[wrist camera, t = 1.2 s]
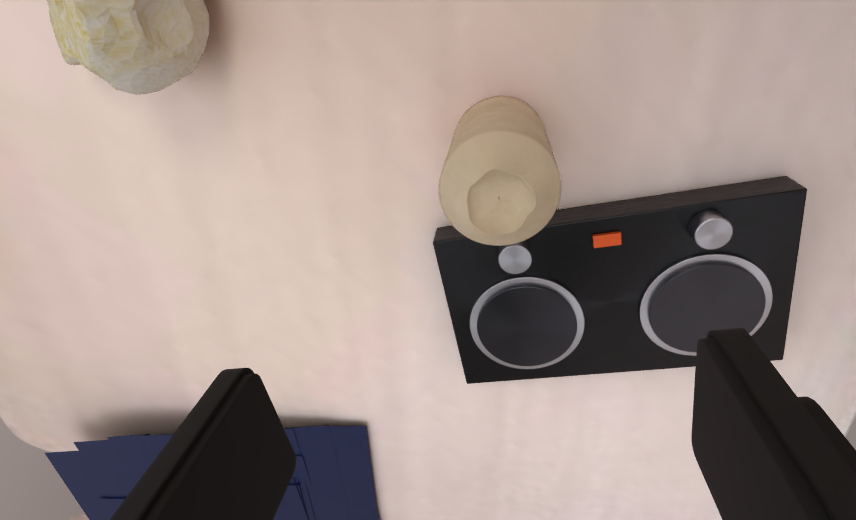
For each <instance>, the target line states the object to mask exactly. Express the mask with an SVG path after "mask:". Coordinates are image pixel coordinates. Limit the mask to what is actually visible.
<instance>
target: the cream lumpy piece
mask: <svg viewBox="0 0 856 520" xmlns="http://www.w3.org/2000/svg"><path fill="white" fill-rule="evenodd" d="M47 2H48V6H49V14H50V21H51V24H52V27H53V30H54V34H55V37H56V40H57V42H58V45H59V48H60V50H61V53H62V56H63V58H64V60H65V62H66V63H67V64H70V65H83V66H84V67H85V68H87V69H88V70H90V71H91V72H93V73H94V74H96V75H97V76H99V77H101V78H102V79H104V80H105V81H107V82H108V83H109V84H110V85H111V86H112V87H114V88H115V89H117V90H121V91H124V92H128V93H132V94H136V95H137V94H147V93H152V92H156V91H160V90H162V89H164V88H166V87H167V86H169V85H171V84H172V83H174V82H176V81H178V80H180V78H182V77H184V76H186V75H188V74H190V73H192V71H193V70H194V69H195V68H196V66H197V64H198V61H199V59H200V58H201V56H202V54H203V53H204V51H205V47H206V43H207V38H208V36H209V31H210V30H209V13H208V10H207V7H206V5H205V3H204V0H47Z"/></svg>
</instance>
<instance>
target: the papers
mask: <svg viewBox="0 0 856 520" xmlns="http://www.w3.org/2000/svg"><path fill="white" fill-rule="evenodd" d="M284 430H285V433H286V435H287V437H288V439H289V441H290V444H291V446H292V448H293V450H294V452H295V455H296V467H295V470H294V473H293V475H292V478H291V480H290V482H289V485H288V487H287V489H286V491H285V494H284V496H283V498H282V501H281V503H280V505H279V508H278V510H277V512H276V514H275V517H274V519H273V520H379V517H378V513H377V506H376V499H375V491H374V483H373V475H372V468H371V460H370V452H369V445H368V437H367V429H366V426H312V427H295V428H287V429H284ZM173 435H174V434H166V435H149V434H144V435H130V436H115V437H108V439H109V440H102V441H86V442H74V444H75V445H76V447H77V448H78V450H79V451H68V452H51V453H45V454H46V456H47V457H48V459H49V460H50V461H51V463H52V465H53V466H54V468H55V469H56V471H57V472H58V473H59V475H60V476H61V478H62V479H63V481H64V482H65V484H66V485H67V487H68V488H69V490H70V491H71V493H72V494H73V496H74V497H75V499H76V500H77V502H78V503H79V505H80V506H81V508H82V509H83V511H84V512H85V514H86V515H87V517H88V518H89V520H110V519H111V517H112V516H113V515H114V513H115V512H116V511H117V509H118V508H119V507H120V505H121V504H122V503H123V501H124V500H125V499H126V497H127V496H128V495H129V493H130V492H131V491H132V489H133V488H134V487H135V485H136V484H137V483H138V481H139V480H140V479H141V477H142V476H143V475H144V473H145V472H146V471H147V469H148V468H149V467H150V465H151V464H152V463H153V461H154V460H155V459H156V457H157V456H158V455H159V453H160V452H161V451H162V449H163V448H164V447H165V445H166V444H167V443H168V441H169V440H170V439H171V437H172V436H173Z"/></svg>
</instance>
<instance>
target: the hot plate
mask: <svg viewBox="0 0 856 520" xmlns="http://www.w3.org/2000/svg"><path fill="white" fill-rule="evenodd" d="M806 193H807V189H806V188H805V187H803V186H802V185H800V184H798V183H797V182H795V181H794V180H792V179H791V178H789V177H787V176H783V177H777V178H770V179H763V180H756V181H750V182H743V183H736V184H730V185H723V186H716V187H710V188H703V189H696V190H689V191H683V192H676V193H669V194H663V195H656V196H649V197H643V198H636V199H629V200H622V201H616V202H609V203H602V204H596V205H589V206H582V207H576V208H569V209H562V210H556V211H555V213H554V215H553V216H552V218H551V219H550V221H549V222H548V223H547V225H546V226H545V227H544V228H543V229H542V230H540V231H539V232H538V233H537V234H535V235H533V236H532V237H530V238H528V239H526V240H524V241H522V242H518V243H515V244H510V245H502V246H495V245H487V244H482V243H479V242H476V241H473V240H471V239H469V238H467V237H466V236H464V235H463V234H461V233H460V232H459V231H458V230H456V229H455V228H454V227H453V226H448V227H442V228H437V230H436V234H435V237H434V241H433V245H434V249H435V253H436V257H437V261H438V266H439V270H440V274H441V278H442V282H443V286H444V290H445V295H446V299H447V303H448V307H449V311H450V315H451V320H452V324H453V328H454V332H455V336H456V340H457V344H458V349H459V353H460V357H461V361H462V365H463V369H464V374H465V378H466V382H467V384H470V383H483V382H496V381H509V380H522V379H535V378H549V377H562V376H575V375H588V374H601V373H614V372H628V371H641V370H654V369H667V368H680V367H693V366H696V353H697V342H698V340H699V339H704V338H707V334H708V332H709V331H710V330H720V329H733V328H744V329H745V330H746V331H747V332H748V333H749V334H750V335H751V337H752V338H753V339H754V341H755V342H756V343H757V345H758V346H759V347H760V349H761V350H762V351H763V353H764V354H765V355H766V357H767V358H768V359H769V360H770V361H772V360H782V359H783V355H784V348H785V341H786V334H787V326H788V319H789V312H790V305H791V298H792V291H793V284H794V277H795V270H796V263H797V256H798V249H799V242H800V235H801V228H802V221H803V214H804V207H805V200H806Z"/></svg>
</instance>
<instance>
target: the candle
mask: <svg viewBox="0 0 856 520" xmlns="http://www.w3.org/2000/svg"><path fill="white" fill-rule="evenodd" d="M560 195H561V179H560V174H559V171H558V168H557V165H556V161H555V158H554V155H553V152H552V149H551V146H550V143H549V140H548V137H547V134H546V131H545V128H544V125H543V123H542V121H541V119H540V117H539V116H538V114H537V113H536V112H535V111H534V110H533V109H532V108H531V107H530V106H529V105H528V104H526V103H524V102H523V101H520V100H518V99H515V98H512V97H505V96H497V97H491V98H487V99H485V100H482V101H480V102H478V103H476V104H475V105H473V106H472V107H471V108H470V109H469V110H468V111H467V112H466V113H465V114H464V115H463V116H462V118H461V120H460V121H459V123H458V125H457V128H456V130H455V133H454V136H453V139H452V142H451V145H450V148H449V151H448V154H447V157H446V160H445V163H444V166H443V169H442V172H441V176H440V180H439V198H440V203H441V207H442V209H443V212H444V214H445V216H446V217H447V219H448V221H449V222H450V223H451V224H452V226H453V227H454V228H455V229H456V230H458V231H459V232H460V233H461V234H463V235H464V236H466V237H467V238H469V239H471V240H473V241H476V242H479V243H482V244H487V245H495V246H502V245H510V244H515V243H518V242H522V241H524V240H526V239H528V238H530V237H532V236H533V235H535V234H537V233H538V232H539V231H540V230H542V229H543V228H544V227H545V226H546V225H547V223H548V222H549V221H550V219H551V218H552V216H553V215H554V213H555V211H556V209H557V206H558V204H559V200H560Z"/></svg>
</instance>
